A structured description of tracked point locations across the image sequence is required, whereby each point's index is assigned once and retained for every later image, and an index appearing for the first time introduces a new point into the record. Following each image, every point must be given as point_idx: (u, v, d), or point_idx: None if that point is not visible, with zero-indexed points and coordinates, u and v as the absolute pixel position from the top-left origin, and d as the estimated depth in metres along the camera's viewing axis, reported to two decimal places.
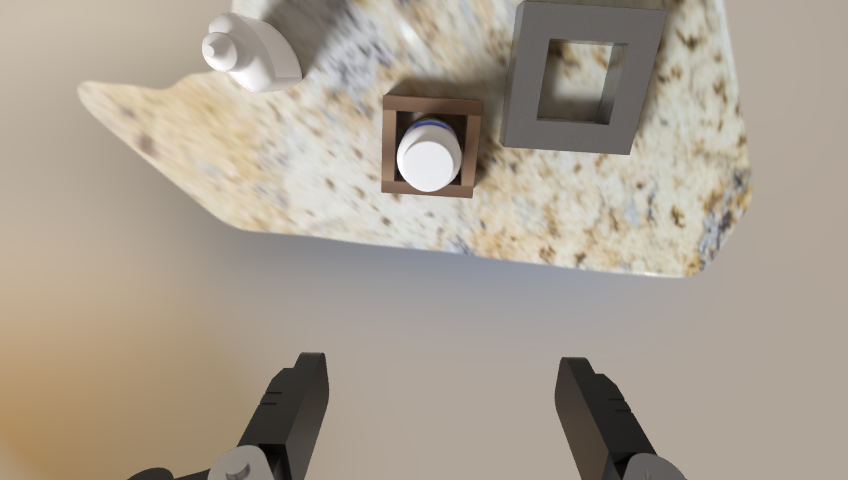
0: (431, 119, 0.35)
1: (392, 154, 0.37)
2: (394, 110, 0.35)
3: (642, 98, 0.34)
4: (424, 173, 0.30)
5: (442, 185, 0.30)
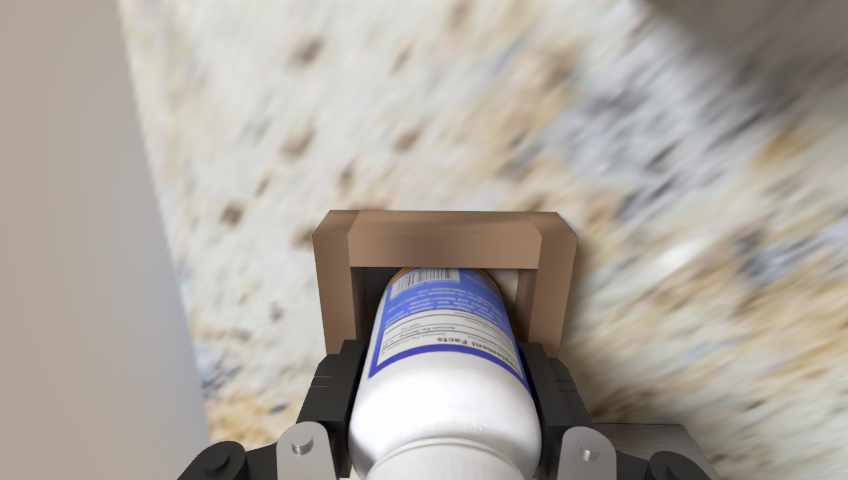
0: None
1: (422, 260, 0.13)
2: (538, 264, 0.13)
3: None
4: None
5: None
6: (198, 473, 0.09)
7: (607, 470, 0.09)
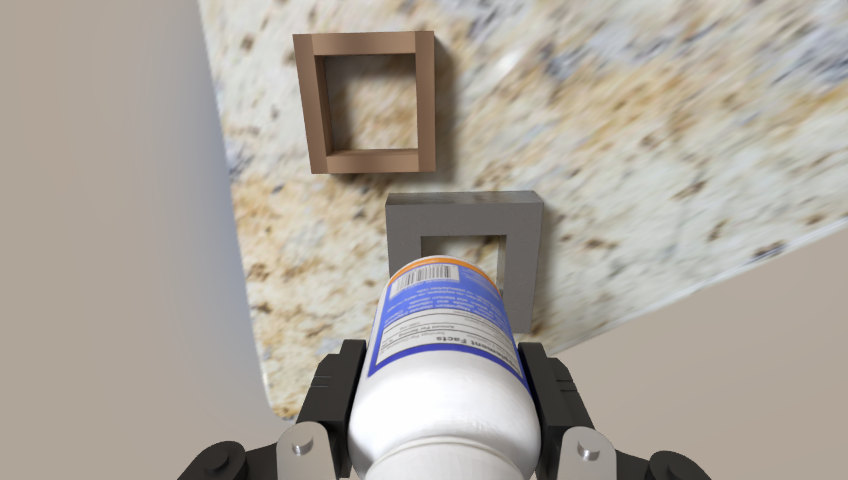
0: None
1: (352, 49, 0.25)
2: (415, 49, 0.25)
3: None
4: None
5: None
6: (198, 473, 0.09)
7: (607, 470, 0.09)
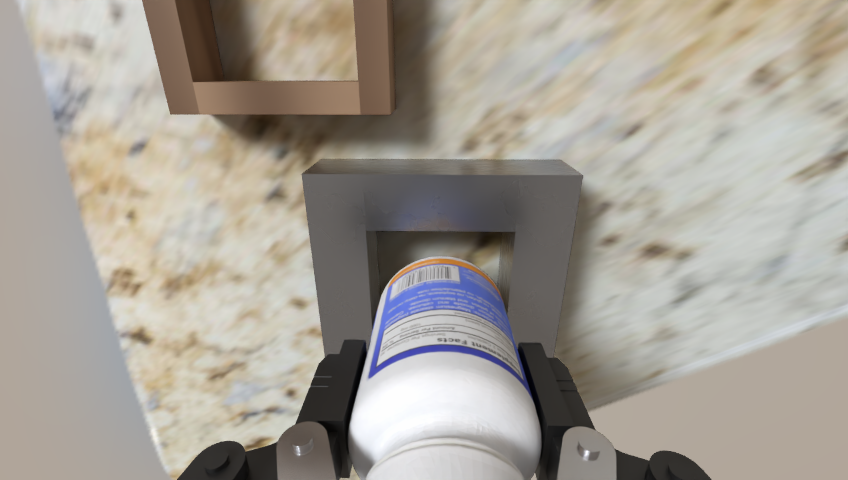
0: None
1: None
2: None
3: None
4: None
5: None
6: (198, 473, 0.09)
7: (607, 470, 0.09)
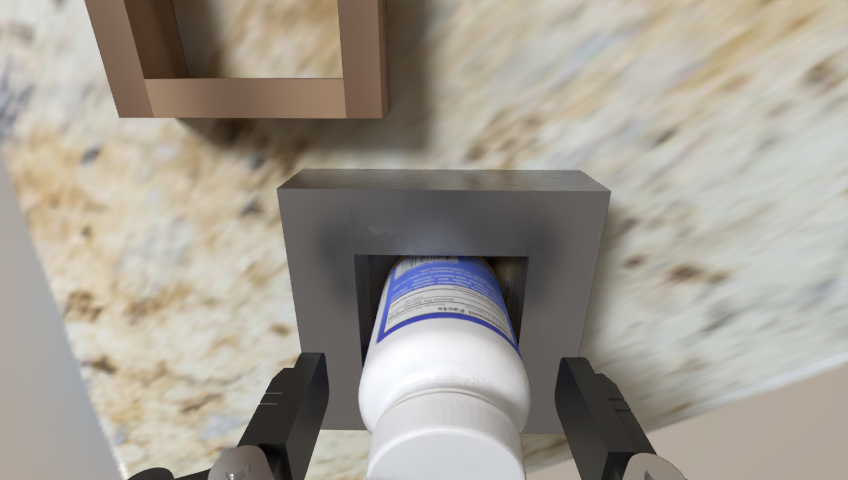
0: None
1: None
2: None
3: None
4: None
5: None
6: None
7: None
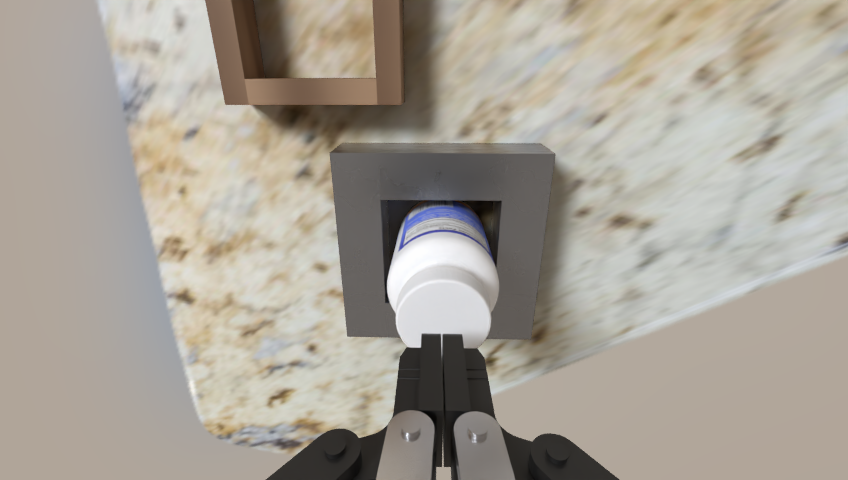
0: None
1: None
2: None
3: None
4: (431, 318, 0.16)
5: (410, 346, 0.17)
6: (318, 452, 0.09)
7: (488, 451, 0.09)
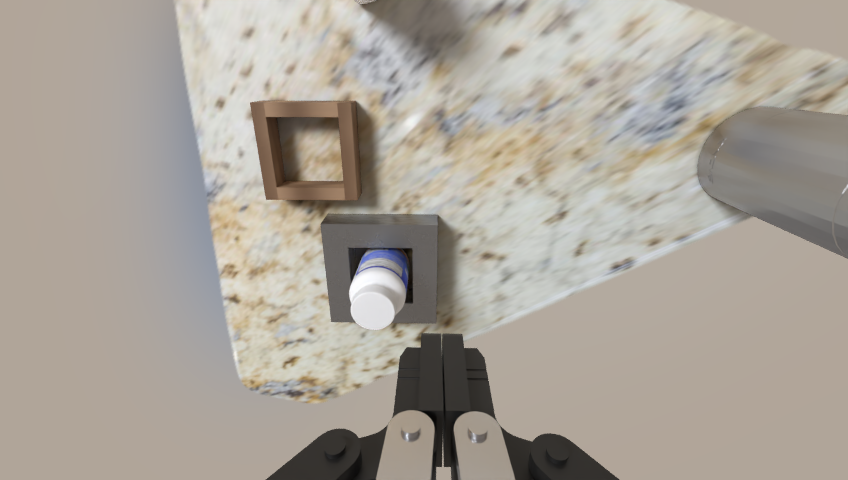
0: (408, 273, 0.41)
1: (293, 114, 0.35)
2: (338, 115, 0.35)
3: None
4: (366, 309, 0.34)
5: (358, 323, 0.35)
6: (318, 452, 0.09)
7: (488, 451, 0.09)
